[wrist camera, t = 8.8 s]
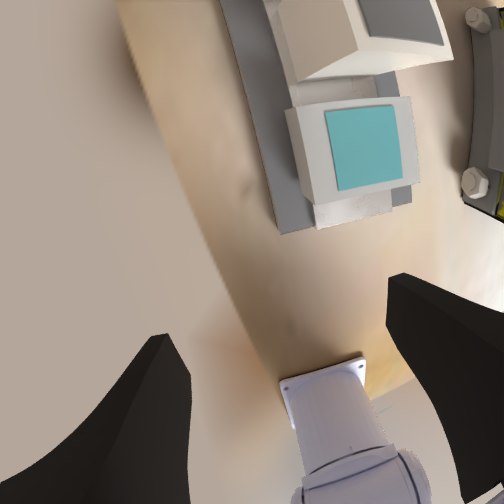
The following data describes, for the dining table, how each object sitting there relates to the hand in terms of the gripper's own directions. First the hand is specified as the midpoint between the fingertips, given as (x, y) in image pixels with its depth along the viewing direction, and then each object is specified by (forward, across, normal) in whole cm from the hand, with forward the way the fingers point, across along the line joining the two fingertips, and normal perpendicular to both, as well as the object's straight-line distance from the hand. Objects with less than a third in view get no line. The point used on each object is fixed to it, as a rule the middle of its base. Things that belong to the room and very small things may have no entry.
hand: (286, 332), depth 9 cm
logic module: (+8, -6, -10) cm, 14 cm away
